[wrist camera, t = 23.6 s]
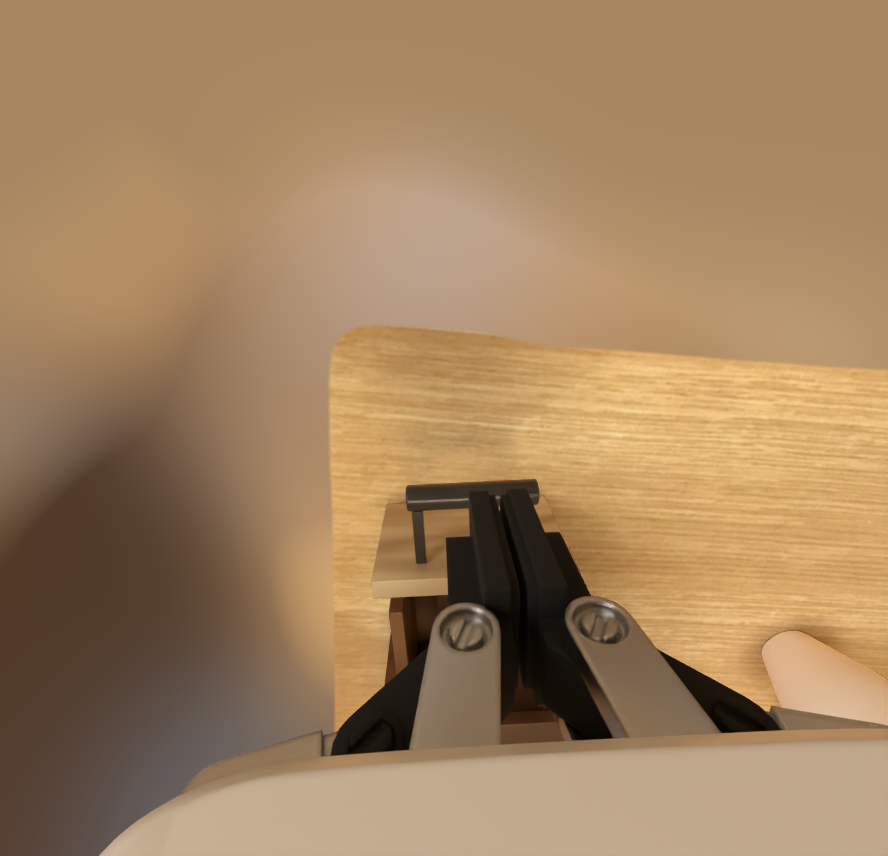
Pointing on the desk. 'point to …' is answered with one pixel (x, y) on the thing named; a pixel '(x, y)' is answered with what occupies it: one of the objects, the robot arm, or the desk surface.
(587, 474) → the desk surface
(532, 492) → the drawer
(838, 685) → the mug
